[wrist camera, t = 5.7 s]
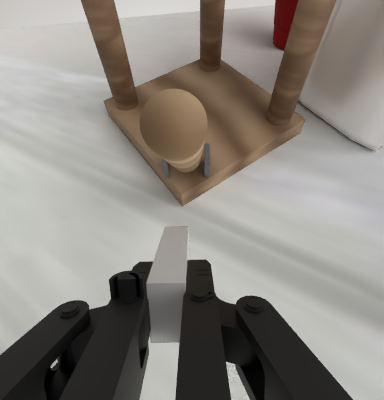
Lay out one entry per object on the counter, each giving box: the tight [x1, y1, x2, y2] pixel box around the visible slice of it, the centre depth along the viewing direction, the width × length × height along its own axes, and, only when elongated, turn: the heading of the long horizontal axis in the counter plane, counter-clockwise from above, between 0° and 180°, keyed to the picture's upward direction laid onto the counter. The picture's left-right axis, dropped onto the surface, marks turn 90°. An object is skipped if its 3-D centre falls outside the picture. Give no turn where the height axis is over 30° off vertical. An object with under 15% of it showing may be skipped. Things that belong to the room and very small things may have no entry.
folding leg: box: [140, 89, 207, 173], centre depth 20 cm, size 3×3×16 cm
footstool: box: [81, 0, 337, 206], centre depth 29 cm, size 20×20×21 cm
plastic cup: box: [273, 0, 298, 50], centre depth 43 cm, size 11×11×12 cm
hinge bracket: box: [161, 143, 211, 178], centre depth 29 cm, size 2×5×3 cm, turn 90°
